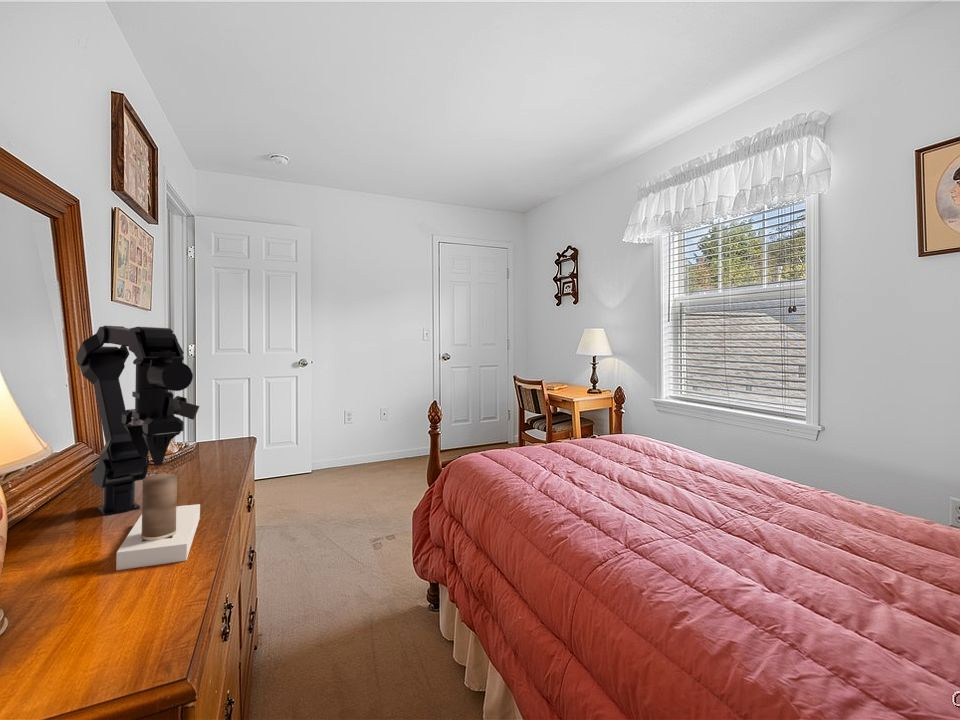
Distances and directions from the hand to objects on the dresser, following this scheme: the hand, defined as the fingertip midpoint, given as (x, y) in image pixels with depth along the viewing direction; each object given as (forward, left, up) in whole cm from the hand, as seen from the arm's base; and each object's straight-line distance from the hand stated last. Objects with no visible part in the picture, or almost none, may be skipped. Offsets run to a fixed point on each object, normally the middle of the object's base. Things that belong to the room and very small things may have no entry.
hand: (150, 461), depth 98 cm
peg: (+16, -3, -12) cm, 21 cm away
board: (+12, -1, -13) cm, 18 cm away
